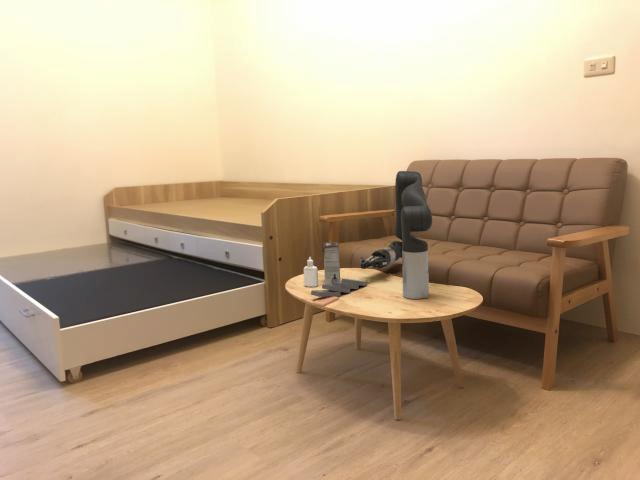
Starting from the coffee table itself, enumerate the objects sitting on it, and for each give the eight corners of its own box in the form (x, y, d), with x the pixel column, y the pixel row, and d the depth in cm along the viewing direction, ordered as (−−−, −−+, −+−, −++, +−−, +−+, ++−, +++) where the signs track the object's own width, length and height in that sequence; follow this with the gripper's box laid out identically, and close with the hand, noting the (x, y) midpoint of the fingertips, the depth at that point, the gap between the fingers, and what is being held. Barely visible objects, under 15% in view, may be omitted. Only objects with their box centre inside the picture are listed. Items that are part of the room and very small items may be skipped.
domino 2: (331, 289, 203) (311, 290, 197) (340, 291, 199) (319, 292, 193) (331, 294, 203) (311, 294, 197) (340, 296, 199) (319, 296, 193)
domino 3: (327, 295, 199) (311, 302, 191) (338, 297, 196) (323, 304, 188) (327, 299, 199) (311, 306, 191) (338, 301, 196) (323, 309, 188)
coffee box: (324, 279, 225) (323, 242, 222) (340, 278, 225) (338, 241, 222) (324, 285, 216) (323, 246, 213) (340, 284, 216) (339, 245, 213)
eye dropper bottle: (312, 288, 212) (310, 259, 210) (302, 285, 216) (301, 257, 214) (320, 285, 215) (318, 257, 213) (310, 283, 219) (309, 255, 217)
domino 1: (341, 287, 207) (322, 284, 200) (350, 288, 203) (331, 286, 196) (340, 291, 206) (321, 288, 200) (349, 293, 203) (330, 290, 196)
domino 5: (357, 280, 215) (342, 278, 208) (367, 282, 212) (351, 280, 205) (357, 284, 215) (341, 282, 208) (366, 286, 212) (351, 284, 204)
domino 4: (349, 283, 211) (332, 281, 204) (358, 285, 208) (341, 283, 201) (348, 287, 211) (331, 285, 204) (358, 289, 208) (341, 287, 200)
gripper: (369, 247, 230) (348, 255, 216) (397, 250, 222) (376, 258, 209) (370, 264, 231) (348, 273, 218) (397, 267, 224) (377, 277, 210)
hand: (362, 266), depth 213 cm, fingers closed
